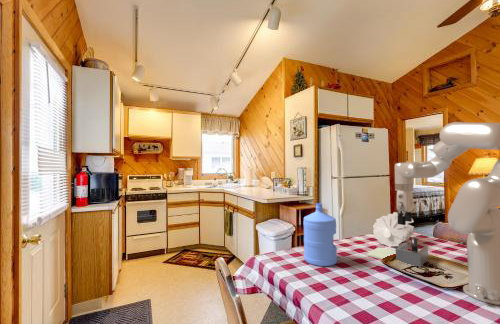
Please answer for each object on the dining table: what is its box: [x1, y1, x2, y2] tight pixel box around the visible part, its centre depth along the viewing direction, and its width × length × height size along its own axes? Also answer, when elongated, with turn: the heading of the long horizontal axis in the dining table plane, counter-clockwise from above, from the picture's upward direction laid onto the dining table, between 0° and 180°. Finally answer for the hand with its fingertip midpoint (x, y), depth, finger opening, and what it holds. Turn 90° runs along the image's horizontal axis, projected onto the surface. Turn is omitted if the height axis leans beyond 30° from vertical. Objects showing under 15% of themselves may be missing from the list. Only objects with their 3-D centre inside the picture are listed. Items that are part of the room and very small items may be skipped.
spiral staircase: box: [372, 211, 415, 248], centre depth 144 cm, size 18×18×25 cm
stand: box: [410, 236, 419, 252], centre depth 120 cm, size 4×4×10 cm
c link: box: [395, 242, 429, 268], centre depth 117 cm, size 14×10×6 cm
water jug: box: [303, 202, 338, 267], centre depth 118 cm, size 16×16×28 cm
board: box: [366, 246, 396, 260], centre depth 125 cm, size 16×11×1 cm
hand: (404, 222), depth 117 cm, fingers open, 9 cm apart
